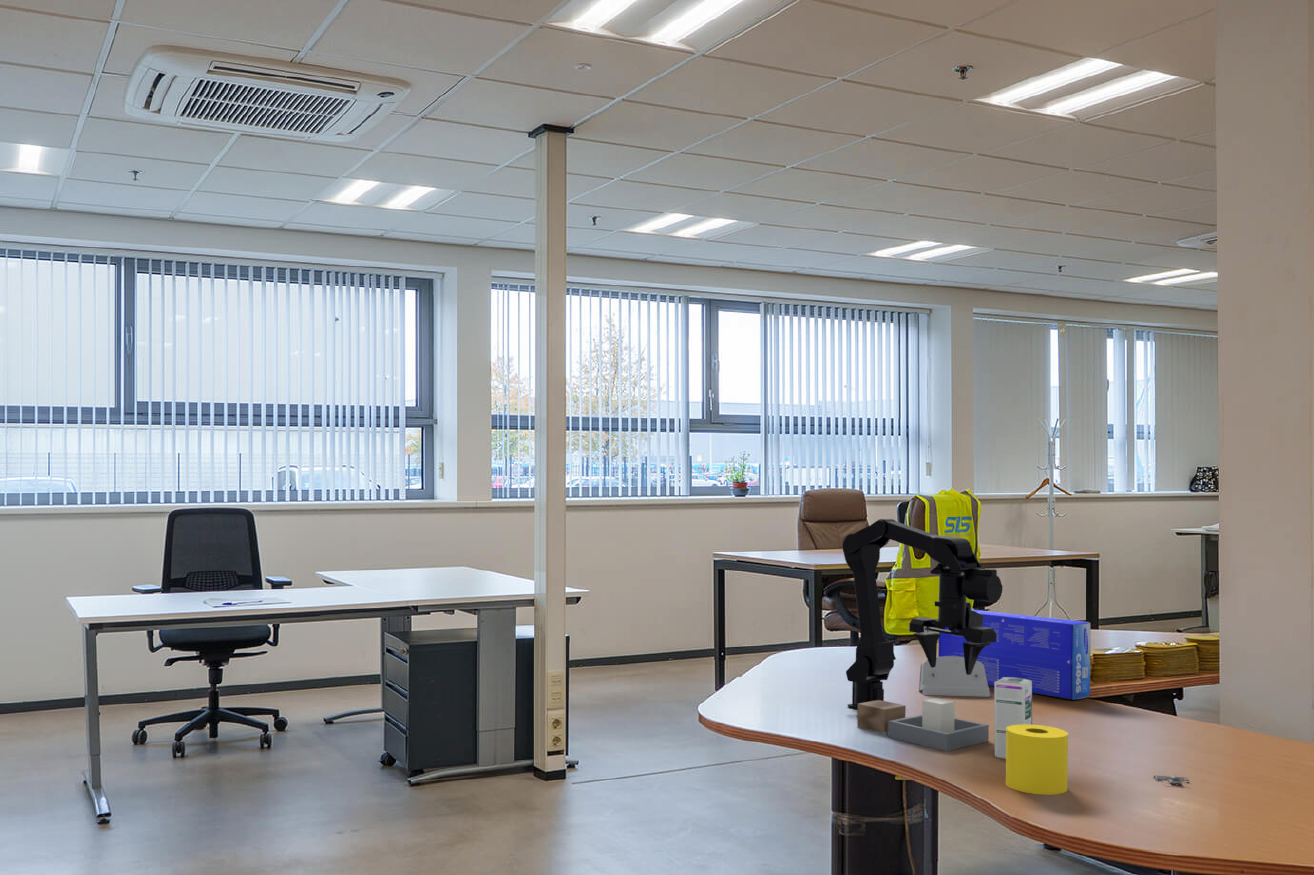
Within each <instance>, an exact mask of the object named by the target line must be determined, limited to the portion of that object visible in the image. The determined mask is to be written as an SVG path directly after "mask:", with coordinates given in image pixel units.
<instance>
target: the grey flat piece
mask: <svg viewBox="0 0 1314 875" xmlns="http://www.w3.org/2000/svg"><path fill="white" fill-rule="evenodd" d="M1153 779H1154V780H1155V781H1156V782H1160V781H1161V782H1162V781H1167V782H1170V784H1171V783H1172V784H1180V785H1181V784H1182V785H1183V784H1184V781H1189V782H1190V780H1189V779H1188V777H1183V776H1182V777H1181V776H1176V775H1171V776H1169V775H1168V776H1167V775H1153ZM1172 784H1171V785H1172ZM1180 785H1179V786H1180ZM1182 785H1181V786H1182Z"/></svg>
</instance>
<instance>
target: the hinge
mask: <svg viewBox="0 0 1314 875" xmlns="http://www.w3.org/2000/svg"><path fill="white" fill-rule="evenodd" d="M919 670H920V672H919V682H918V683H919V686H918V692H922V695H923V696H949V697H950V696H951V697H953V696H954V697H986V698H987V697H989V698H990V696H991V694H990V693H991V692H990V688H989V687H990V686H988V683H987V679H986V674H985V669H984V665H983V664H982V663H981V662H979V661H976V663H975V665H974V668H973V670H972V673H971V675H967V674H966V670H965V661H964V657H958V656H943V657H938V656H936V666H935V667H934V668H932V667H931V666H930V664H929V662H928V659H926V660H924V661H923V662H921V664H920V669H919Z"/></svg>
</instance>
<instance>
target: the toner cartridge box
mask: <svg viewBox="0 0 1314 875" xmlns="http://www.w3.org/2000/svg"><path fill="white" fill-rule="evenodd" d="M971 610H972V611H975V612H977V613H979V614H981V615H983V616H984V620H983V624H982V627H988V628H993V629H994V630H995V632H996V642H991V644H990V645H988V646H985V647H984V648H983V649H982V650H981V652H980V654H979V656H978V658H977V660H976V661H979V662H981V663H982V664H983V665H984V669H985V674H986V679H987V683H988V687H991V686H992V687H993V688H994V682H995V681H998V680H1000V679H1002V678H1003V677H1014V678H1023V679H1029V680H1031V681H1032V694H1036V695H1037V694H1038V695H1043V696H1050V697H1055V698H1061V699H1067V700H1071V701H1075V700H1080V699H1085V698H1089V697H1090V693H1091V622H1089V621H1081V620H1080V621H1079V620H1073V619H1062V618H1053V617H1044V616H1043V617H1042V616H1036V615H1035V616H1034V615H1025V614H1019V613H1018V614H1017V613H1009V612H1007V613H1006V612H998V611H997V612H996V611H991V610H990V611H988V610H980V609H972V608H971ZM945 629H949V628H947V627H945ZM957 632H958V631H957ZM938 633H940V632H938ZM940 634H941V635H940V637H939V639H938V646H937V648H938V649H937V650H938V654H937V657H943V656H958V657H964V650H963V643H965V642H967V641H966V639H965V638H964V637H963V636H958V635H952V634H946V633H940Z"/></svg>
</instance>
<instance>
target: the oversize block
mask: <svg viewBox="0 0 1314 875" xmlns="http://www.w3.org/2000/svg"><path fill="white" fill-rule="evenodd" d="M902 718H906V705H904V704H900V703H895V702H890V701H886V700H884V701H882V700H875V701H870V702H864V703H859V704H858V709H857V721H856V722H857V728H861V729H865V730H869V731H874V732H878V733H882V734H887V733H888V721H891V720H896V719H902Z"/></svg>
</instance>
